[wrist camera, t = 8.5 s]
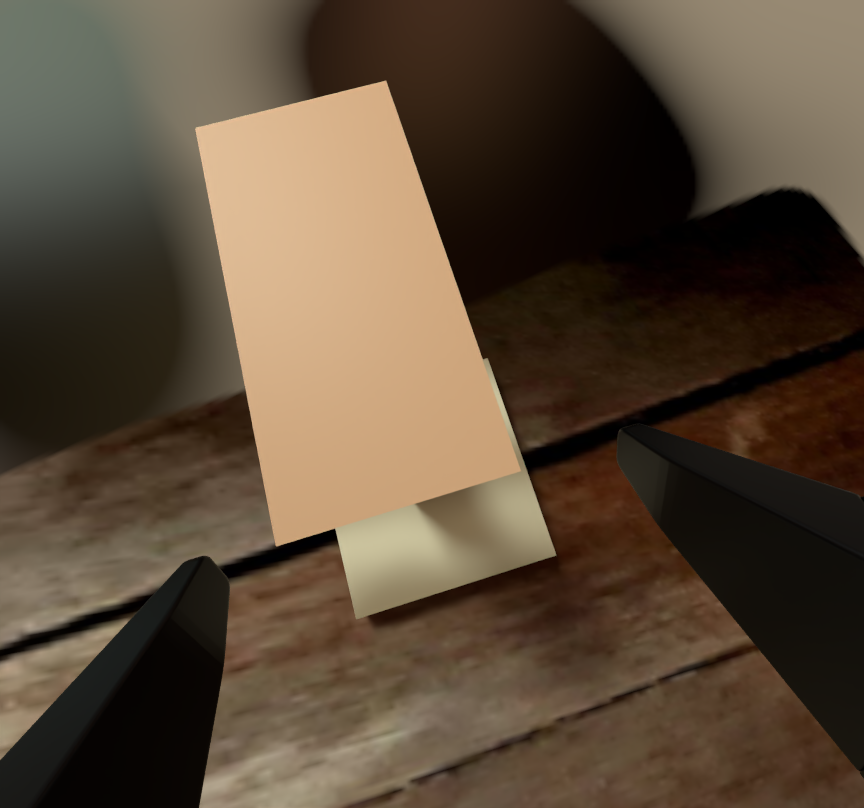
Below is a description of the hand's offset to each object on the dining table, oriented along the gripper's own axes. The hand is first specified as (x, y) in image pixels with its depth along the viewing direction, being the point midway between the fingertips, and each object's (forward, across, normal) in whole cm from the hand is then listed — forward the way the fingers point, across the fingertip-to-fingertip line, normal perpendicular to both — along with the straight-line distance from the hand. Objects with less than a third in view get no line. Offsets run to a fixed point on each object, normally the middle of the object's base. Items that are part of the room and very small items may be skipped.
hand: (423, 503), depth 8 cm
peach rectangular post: (+3, 0, -1) cm, 3 cm away
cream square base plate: (+10, 0, +8) cm, 13 cm away
